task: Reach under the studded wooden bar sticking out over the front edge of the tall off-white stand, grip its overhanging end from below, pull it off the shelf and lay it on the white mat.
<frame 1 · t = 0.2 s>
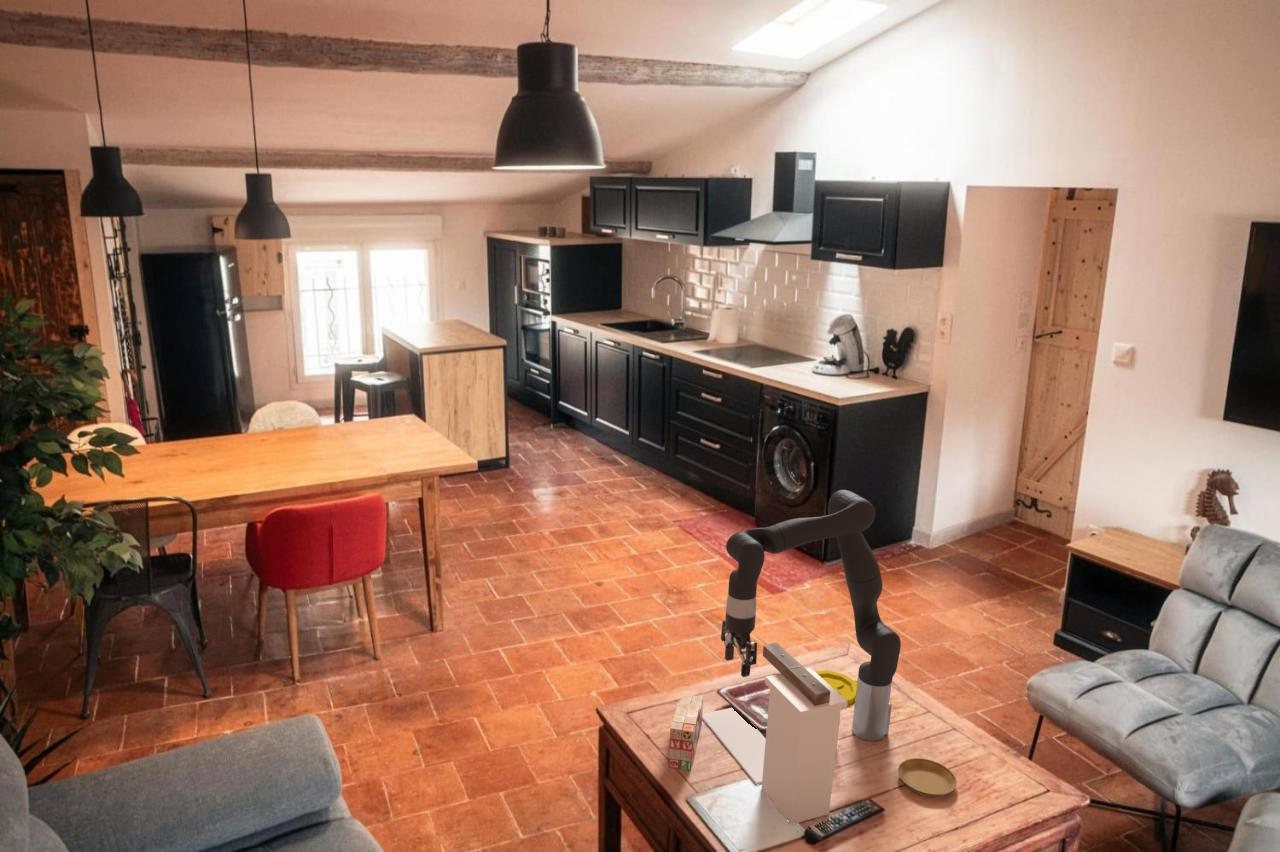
hand: (736, 667, 229), 29 cm above the table, tool pointing down, fingers open, 8 cm apart
decorative disc: (829, 691, 274), on the table
stack of blocks: (685, 746, 245), on the table
studded wooden bar: (794, 678, 220), point 32 cm above the table, touching tall stand
plant saucer: (925, 784, 233), on the table
white mat: (745, 743, 247), on the table
tall stand: (794, 801, 224), on the table
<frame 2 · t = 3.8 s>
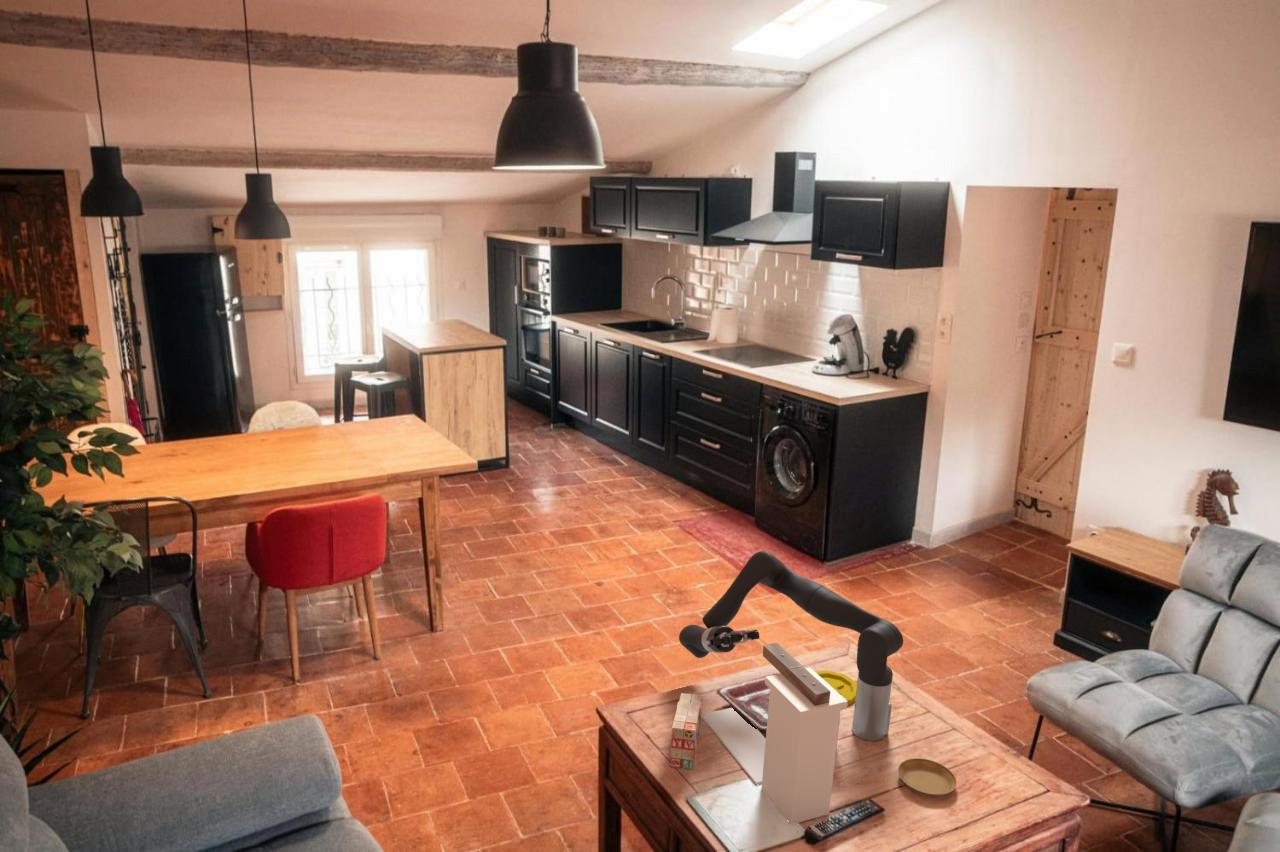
hand: (744, 637, 247), 28 cm above the table, tool pointing upward, fingers open, 8 cm apart
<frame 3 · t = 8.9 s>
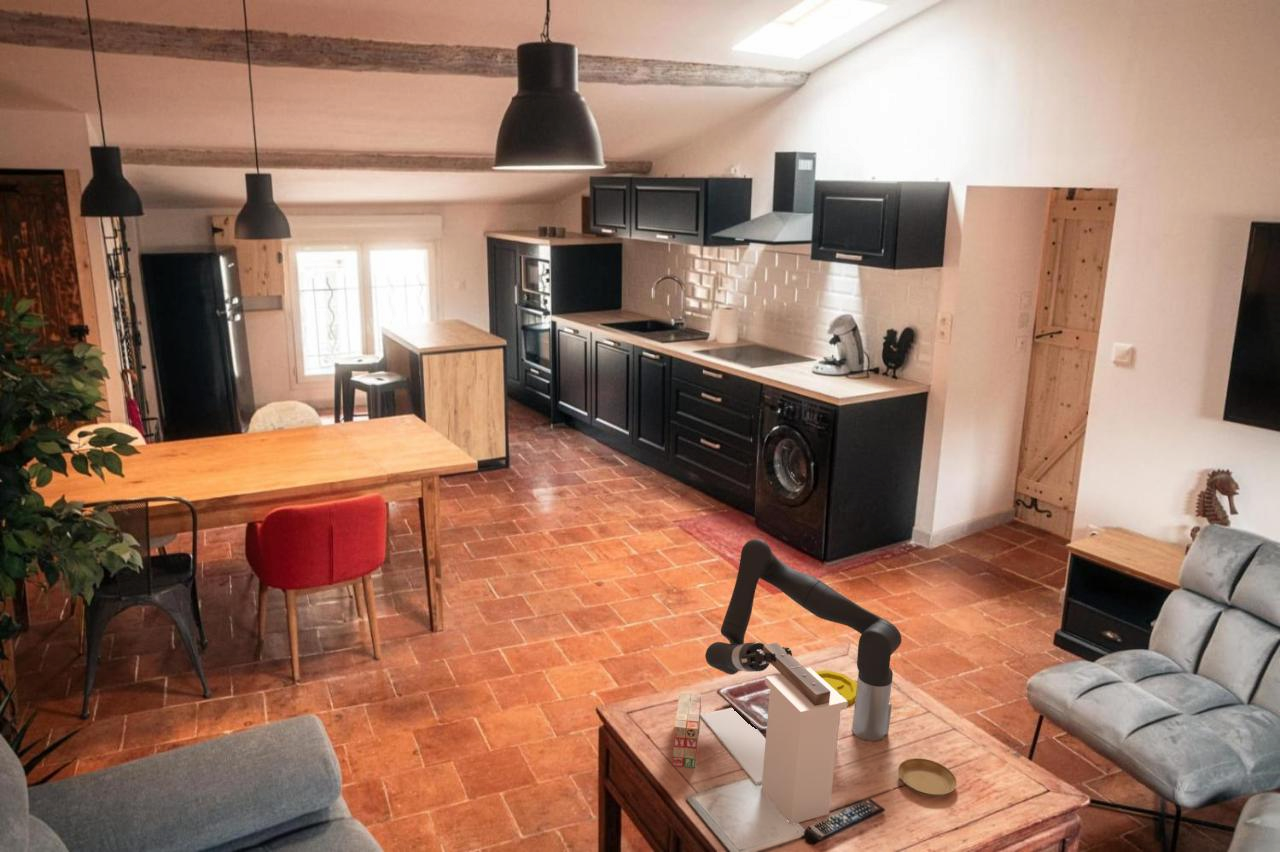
hand: (782, 655, 225), 35 cm above the table, tool pointing upward, fingers closed on studded wooden bar, 4 cm apart
studded wooden bar: (794, 678, 220), point 32 cm above the table, touching gripper, tall stand
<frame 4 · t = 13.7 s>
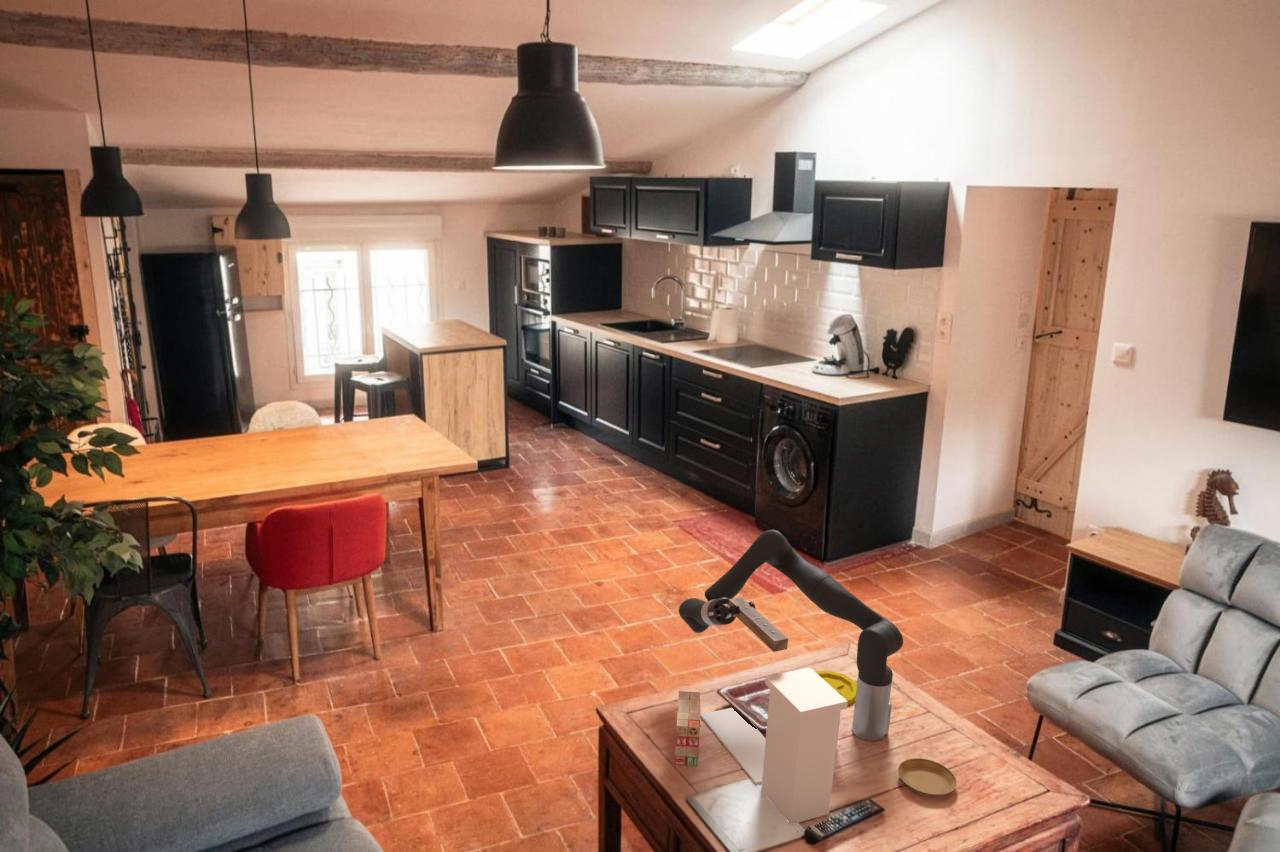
hand: (745, 608, 241), 39 cm above the table, tool pointing upward, fingers closed on studded wooden bar, 4 cm apart
studded wooden bar: (756, 628, 236), point 36 cm above the table, touching gripper
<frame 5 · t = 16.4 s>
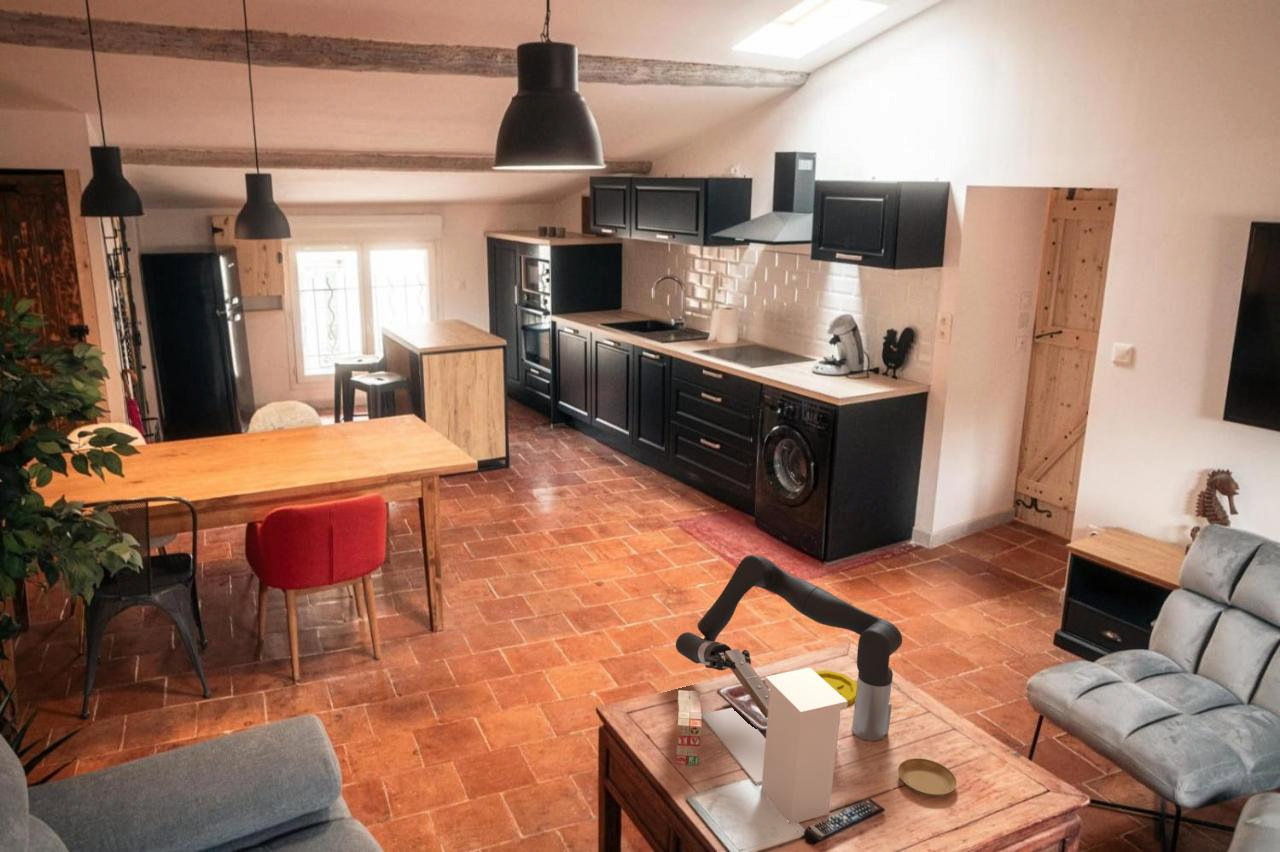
hand: (741, 663, 244), 22 cm above the table, tool pointing upward, fingers closed on studded wooden bar, 4 cm apart
studded wooden bar: (750, 686, 240), point 19 cm above the table, tilted 9°, touching gripper
when the fingers open (14 cm above the table, at t = 18.9 s): studded wooden bar drops 8 cm, resting on white mat.
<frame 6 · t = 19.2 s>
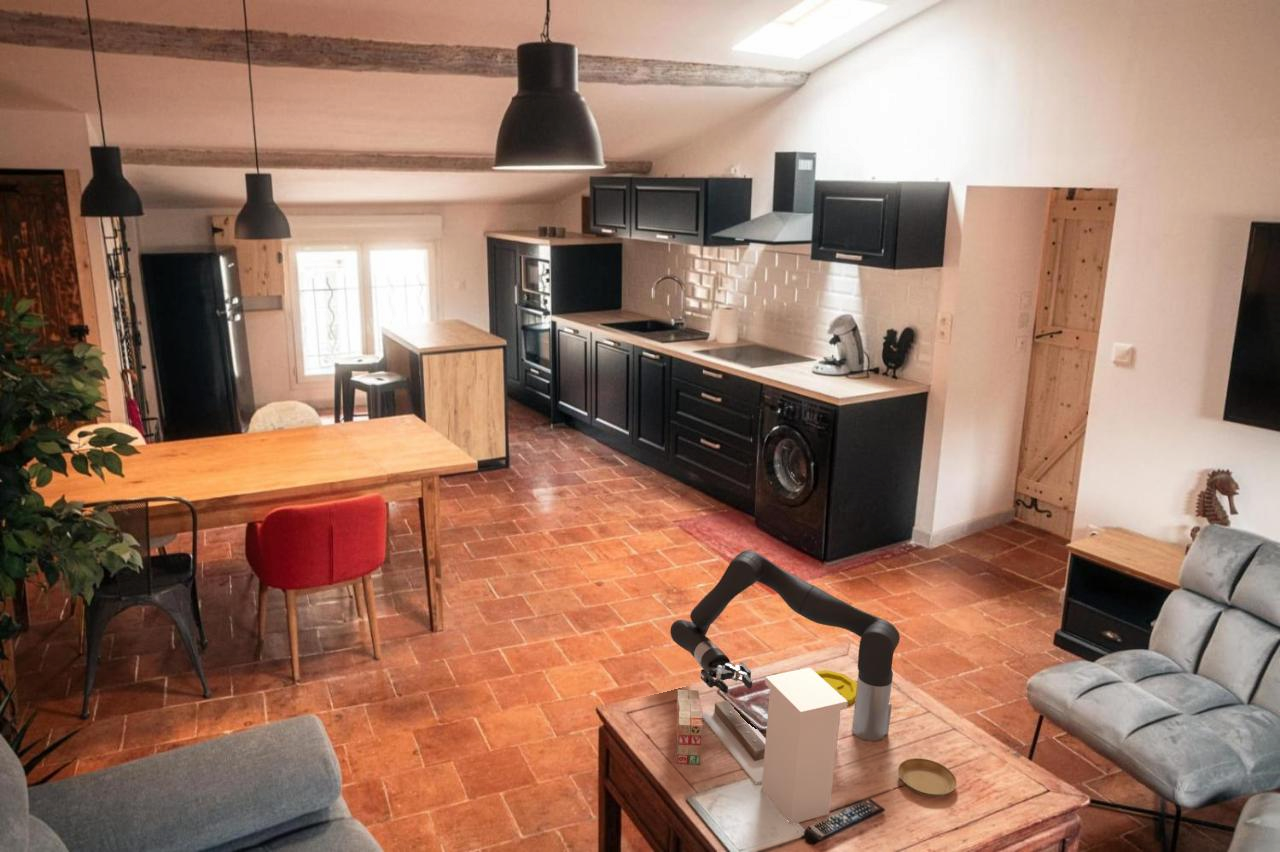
hand: (738, 688, 248), 14 cm above the table, tool horizontal, fingers open, 7 cm apart
studded wooden bar: (739, 734, 250), point 1 cm above the table, touching white mat
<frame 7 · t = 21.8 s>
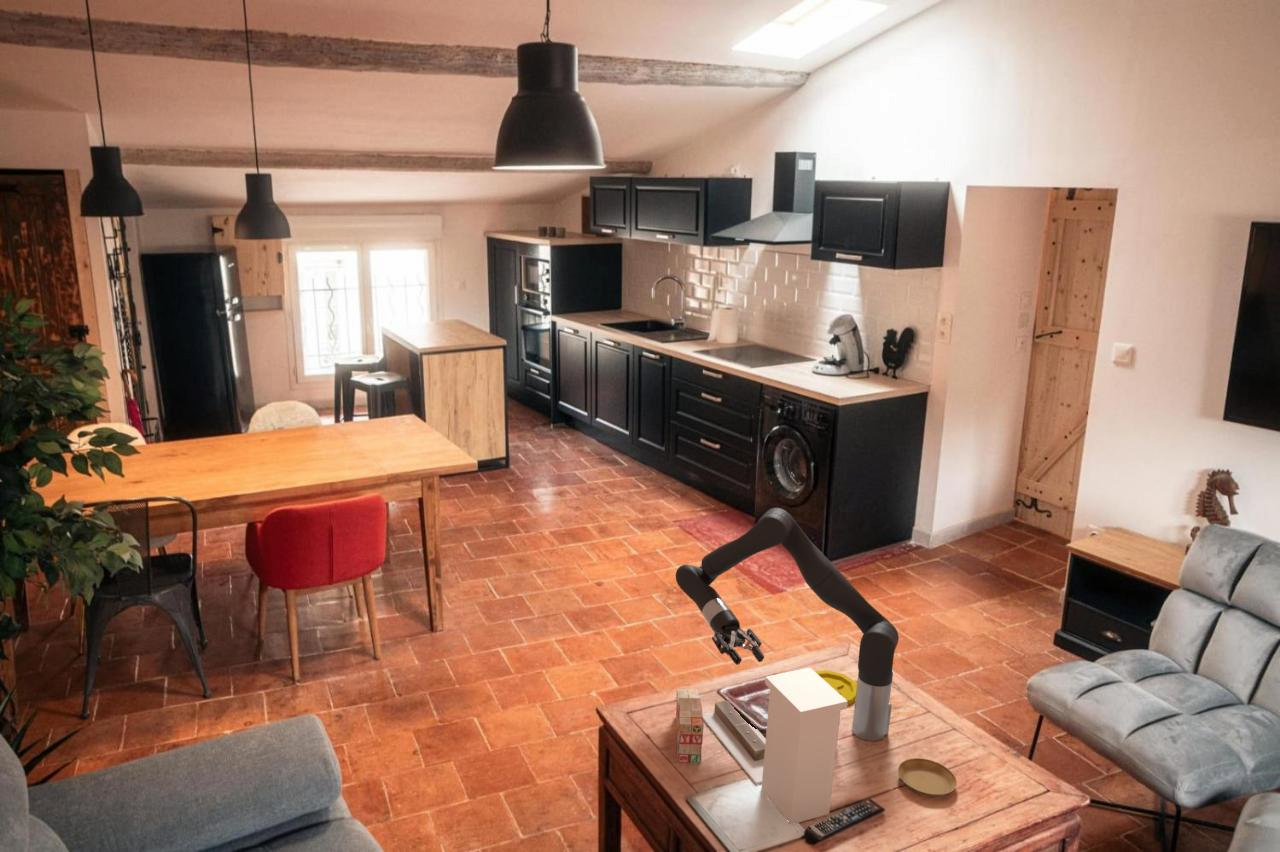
hand: (750, 661, 245), 23 cm above the table, tool tilted 70°, fingers open, 8 cm apart
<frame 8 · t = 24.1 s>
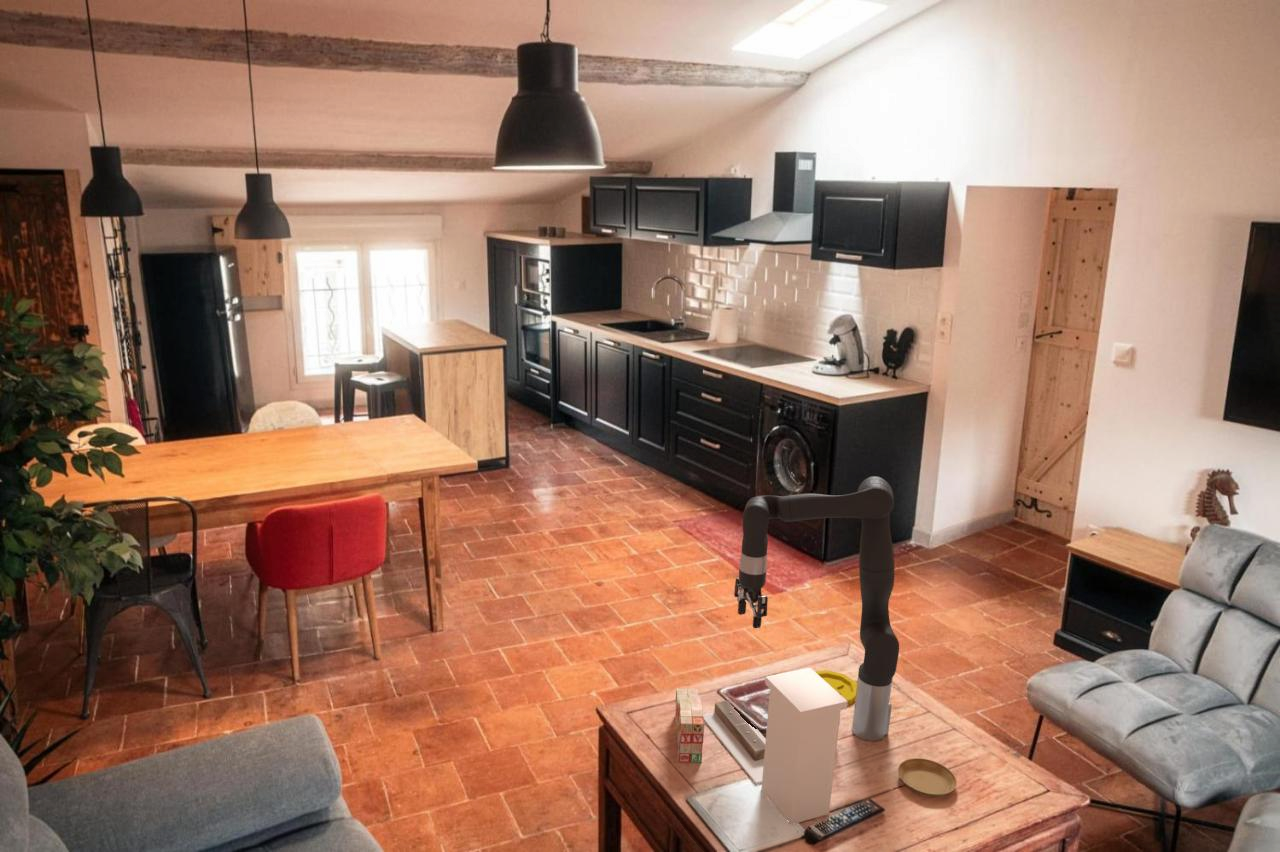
hand: (748, 620, 252), 30 cm above the table, tool pointing down, fingers open, 8 cm apart
at the end: studded wooden bar inside the target area (2.8 cm from its centre), point 0.6 cm above the table; studded wooden bar touching white mat; the gripper is holding nothing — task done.
